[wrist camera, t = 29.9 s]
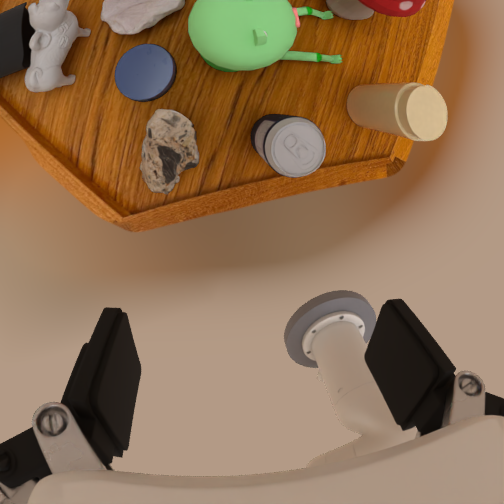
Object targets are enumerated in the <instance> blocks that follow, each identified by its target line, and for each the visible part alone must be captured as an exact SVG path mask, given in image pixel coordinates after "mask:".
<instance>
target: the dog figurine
mask: <svg viewBox="0 0 504 504" xmlns="http://www.w3.org/2000/svg"><path fill="white" fill-rule="evenodd" d="M68 2H69V0H40V1H39V3H38V4H37V5H36V3H33V4H31V5H30V6H29V8H28V12H29V15H30V24H31V26H32V27H33V28H34V29H35V30H36V31H35V34H34V35H33V36H32V37H31V39H30V42H29V46H30V48H31V50H32V51H31V65H30V67H29V68H28V69H27V72H26V75H25V84H26V87H27V88H28V89H29V90H30V91H32V92H44V91H49V90H52V89H54V88H55V87H61V86H63V85H71V84H73V83H74V81H75V75H72V74H70V75H69V76H68V77H66V76H64V75H63V74H62V69H61V65H62V63H63V62H64V60H65V58H66V56H67V54H68V51H69V49H70V48H71V46H72V43H73V41H75V39H76V38H77V37H88V36H89V35H90V33H91V30H90V29H88V28H86V29H82V28H80V27H79V26H78V21H77V18H76V16H75V15H74V14H73V13H72V12H70V11H67V7H68Z"/></svg>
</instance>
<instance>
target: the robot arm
mask: <svg viewBox="0 0 504 504" xmlns="http://www.w3.org/2000/svg"><path fill="white" fill-rule="evenodd" d="M364 332H365V326H364V323H363V321H362V319H361V318H360V317H359V316H358V315H357V314H355V313H353V312H349V311H338V312H333V313H330V314H328V315H325V316H323V317H321V318H320V319H318V320H317V321H315V322H314V323H313V324H312V325H311V326H310V327H309V328H308V329H307V331H306V332H305V334H304V336H303V339H302V348H303V351H304V353H305V355H306V356H307V357H308V358H310V359H312V360H314V361H316V362H317V365H318V367H319V373H318V376H317V379H318V380H320V381H324V383H325V386H326V389H327V392H328V394H329V397H330V400H331V402H332V405H333V408H334V411H335V413H336V416H337V418H338V420H339V421H340V423H341V424H342V425H343V426H345V427H346V428H347V429H349V430H351V431H354V432H356V433H359V434H361V435H362V436H361V437H359V438H358V439H356V440H354V441H353V442H350V443H348V444H346V445H343V446H341V447H339V448H337V449H334V450H332V451H330V452H327V453H325V454H323V455H320V456H318V457H316V458H314V459H313V460H311V461H310V462H309V463H308V465H307V467H306V468H302V469H296V470H289V471H283V472H274V473H265V474H254V475H239V476H212V477H211V476H205V477H204V476H203V477H202V476H169V475H153V474H141V473H131V472H119V471H115V470H114V469H113V468H112V466H111V465H110V463H112V459H113V456H116V457H122V455H123V450H127V449H128V446H129V439H130V432H131V426H132V420H133V414H134V408H135V402H136V397H137V392H138V386H139V381H140V376H141V364H140V361H139V358H138V355H137V351H136V347H135V343H134V340H133V336H132V332H131V328H130V324H129V320H128V316H127V314H126V313H125V312H122V310H121V309H120V308H104V310H103V312H102V314H101V316H100V318H99V321H98V323H97V325H96V327H95V330H94V332H93V334H92V336H91V339H90V341H89V343H85V344H84V345H83V347H82V349H81V351H80V354H79V356H78V358H77V361H76V363H75V366H74V368H73V371H72V373H71V376H70V378H69V381H68V384H67V386H66V389H65V392H64V395H63V397H62V400H61V403H58V402H49V403H46V404H43V405H42V406H40V407H39V408H38V409H37V410H36V411H35V413H34V415H33V419H32V426H33V427H32V428H30V429H28V430H26V431H24V432H22V433H20V434H18V435H16V436H15V437H13V438H11V439H9V440H7V441H5V442H3V443H1V444H0V504H504V399H503V398H501V397H498V396H495V395H492V394H490V393H487V392H485V385H484V383H483V381H482V379H481V378H480V377H479V376H478V375H476V374H475V373H473V372H471V371H461V372H459V373H458V374H457V375H456V376H455V375H454V372H455V370H456V368H455V366H454V365H453V364H452V363H451V361H450V359H449V358H448V357H447V356H446V354H445V353H444V351H443V350H442V349H441V347H440V346H439V345H438V343H437V342H436V341H435V340H434V338H433V337H432V336H431V334H430V333H429V332H428V331H427V329H426V328H425V327H424V325H423V324H422V323H421V322H420V320H419V319H418V318H417V317H416V315H415V314H414V313H413V312H412V311H411V309H410V308H409V307H408V306H407V304H406V303H405V302H404V301H403V300H402V299H393V300H387V301H386V303H385V304H384V305H383V306H382V308H381V311H380V314H379V317H378V320H377V322H376V325H375V328H374V331H373V333H372V336H371V339H370V341H369V344H368V346H367V344H366V343H365V341H364V339H363V336H364ZM415 426H416V427H415ZM416 428H417V429H416Z"/></svg>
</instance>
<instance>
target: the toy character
mask: <svg viewBox="0 0 504 504" xmlns="http://www.w3.org/2000/svg"><path fill="white" fill-rule="evenodd" d="M331 12H333V11H325V12H321V11H318V10H315V9H312V8H310V7H301V8H292V6H291V4H290V3H289V2H288V1H287V0H197V1H196V2H195V4H194V6H193V8H192V11H191V13H190V15H189V18H188V33H189V35H190V38H191V41H192V43H193V46H194V47H195V48H196V49H197V50H198V51H199V53H200V54H201V57H202V58H203V59H204V60H205V62H206V63H207V64H208V65H210V66H211V67H213V68H215V69H217V70H221V71H224V72H237V71H240V70H255V69H259V68H263V67H266V66H269V65H271V64H272V63H274V62H276V61H277V60H279V59H281V60H300V61H313V62H320V61H325V62H330V63H331V64H333V63H341V62H343V61H341V60H342V59H343V58H341V57H340V56H342V55H333V56H328V55H321V54H320V53H311V52H297V51H288V50H289V49H290V48H291V47H292V45H293V42H294V39H295V37H296V34H297V28H298V27H300V22H299V17H298V16H302V15H314V16H317V17H320V18H322V19H323V20H324V19H332V18H333V16H332V15H333V13H331Z"/></svg>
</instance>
